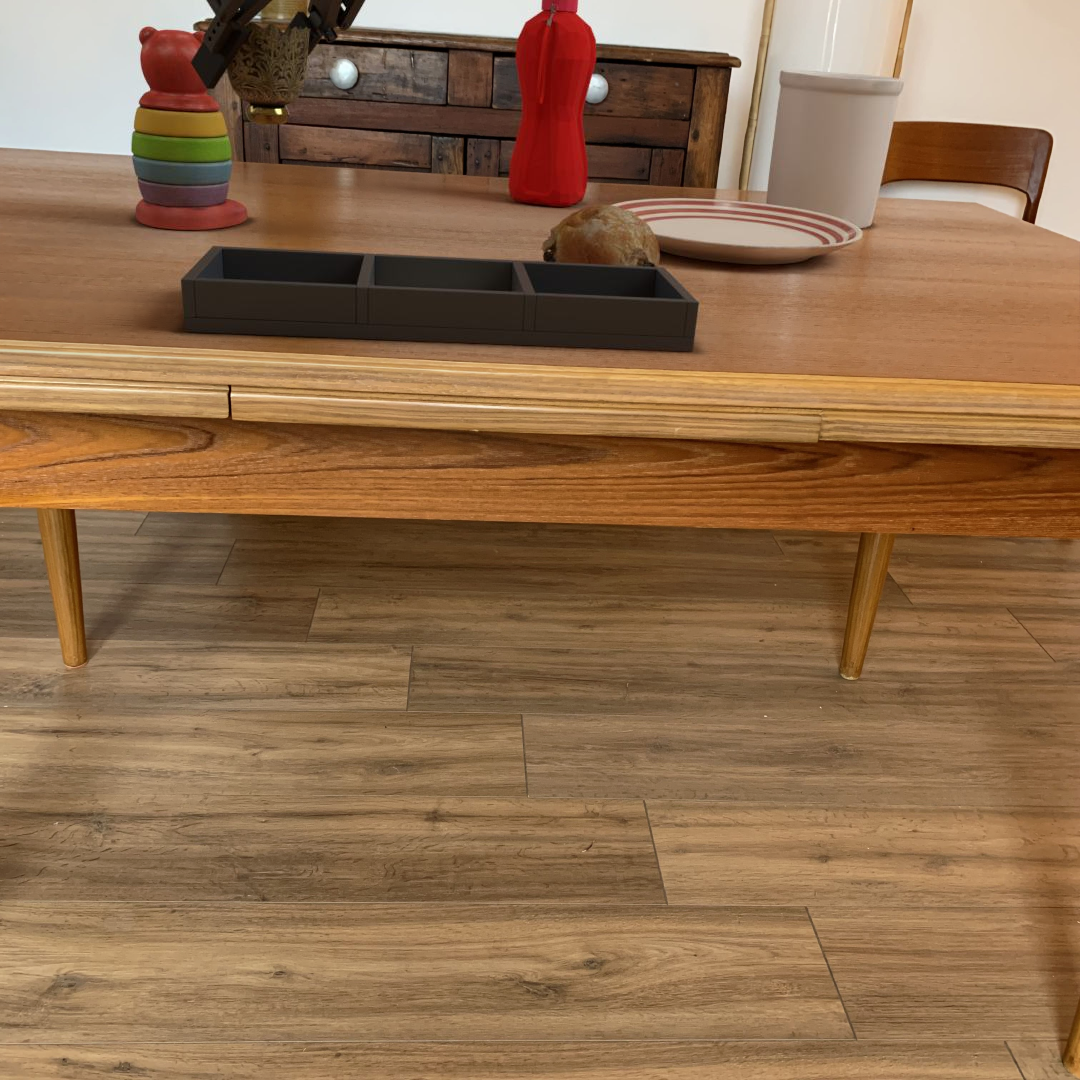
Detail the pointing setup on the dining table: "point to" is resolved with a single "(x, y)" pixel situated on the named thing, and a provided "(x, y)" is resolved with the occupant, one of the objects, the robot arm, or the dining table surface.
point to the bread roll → (602, 239)
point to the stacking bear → (180, 140)
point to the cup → (270, 71)
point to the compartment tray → (437, 299)
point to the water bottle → (552, 106)
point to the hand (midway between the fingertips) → (239, 76)
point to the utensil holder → (832, 142)
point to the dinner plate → (741, 230)
